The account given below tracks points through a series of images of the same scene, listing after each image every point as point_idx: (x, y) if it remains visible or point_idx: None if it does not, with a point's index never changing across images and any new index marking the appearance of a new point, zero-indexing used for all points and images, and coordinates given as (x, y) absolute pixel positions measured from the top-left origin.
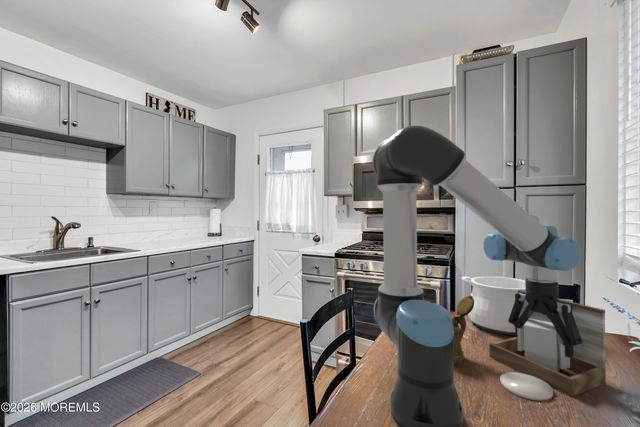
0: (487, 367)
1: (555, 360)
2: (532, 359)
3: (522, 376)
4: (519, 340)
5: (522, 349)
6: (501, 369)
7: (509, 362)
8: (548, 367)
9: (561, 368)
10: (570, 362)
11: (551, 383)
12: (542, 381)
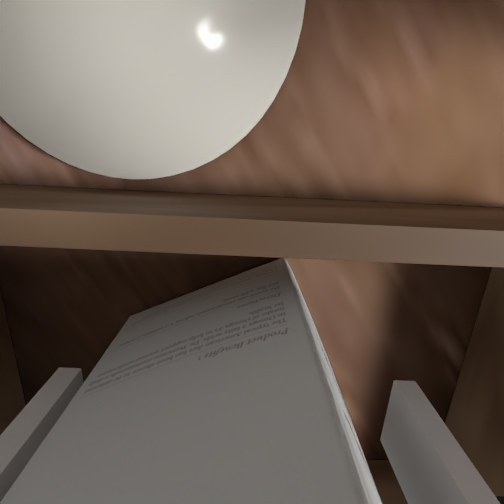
0: (465, 12)
1: (78, 395)
2: (243, 310)
3: (207, 92)
4: (452, 466)
5: (392, 411)
6: (379, 98)
7: (380, 207)
8: (149, 330)
9: (73, 369)
10: None
11: (58, 189)
12: (99, 160)
